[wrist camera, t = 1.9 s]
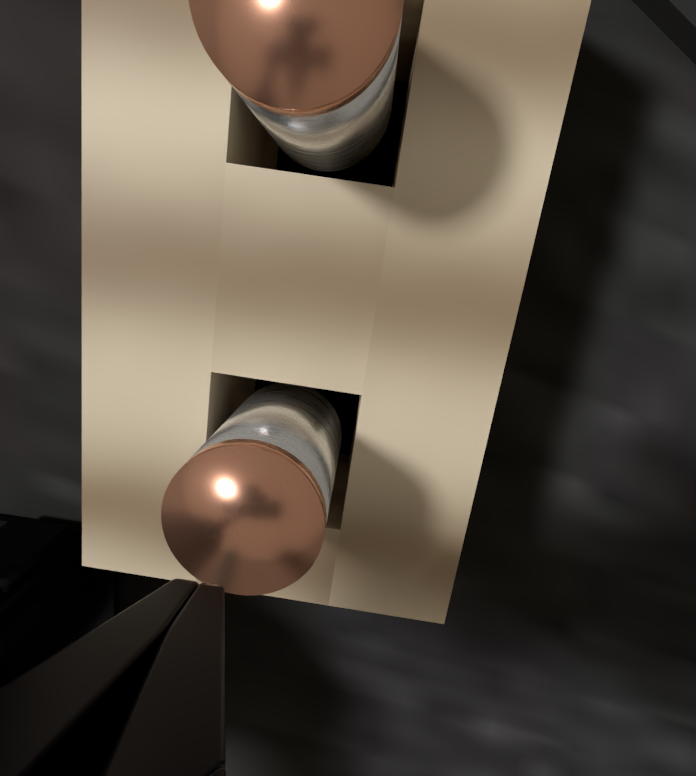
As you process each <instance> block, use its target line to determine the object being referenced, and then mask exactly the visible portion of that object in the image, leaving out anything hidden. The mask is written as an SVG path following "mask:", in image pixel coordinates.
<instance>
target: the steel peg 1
mask: <svg viewBox="0 0 696 776" xmlns="http://www.w3.org/2000/svg"><path fill="white" fill-rule="evenodd" d="M188 1H189V7H190V11H191V16H192V20H193V23H194V26H195V29H196V31H197V34H198V37H199V39H200V41H201V43H202V45H203V47H204V49H205V51H206V52H207V54H208V56H209V57H210V59H211V60H212V62H213V63H214V65H215V66H216V67H217V68H218V70H219V71H220V72H221V73H222V75H223V76H224V77H225V79H226V80H227V81H228V82H229V84H230V85H231V86H232V87H233V89H234V90H235V91H236V92H237V94H238V95H239V96H240V97H241V99H242V100H243V101H244V102H245V104H246V105H247V106H248V108H249V109H250V110H251V111H252V113H253V114H254V115H255V116H256V118H257V119H258V120H259V121H260V123H261V124H262V125H263V126H264V128H265V129H266V130H267V131H268V133H269V134H270V135H271V137H272V138H273V139H274V140H275V142H276V143H277V144H278V145H279V147H280V148H281V149H282V150H283V151H284V152H285V153H286V154H287V155H288V156H289V157H290V158H291V159H293V160H294V161H295V162H297V163H298V164H300V165H302V166H304V167H307V168H309V169H313V170H317V171H326V172H330V171H339V170H343V169H346V168H349V167H352V166H354V165H355V164H357V163H359V162H360V161H362V160H363V159H365V158H366V157H367V156H368V155H369V154H370V153H371V152H372V151H373V150H374V149H375V148H376V146H377V145H378V144H379V142H380V141H381V139H382V137H383V135H384V133H385V131H386V129H387V126H388V123H389V120H390V115H391V110H392V101H393V92H394V83H395V74H396V65H397V57H398V48H399V39H400V30H401V21H402V12H403V4H404V0H188Z"/></svg>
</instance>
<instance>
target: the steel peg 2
mask: <svg viewBox="0 0 696 776" xmlns="http://www.w3.org/2000/svg"><path fill="white" fill-rule="evenodd" d="M341 440H342V430H341V425H340V421H339V418H338V415H337V413H336V411H335V409H334V408H333V407H332V405H331V404H330V403H329V401H328V400H327V399H326V398H325V397H324V396H322V395H321V394H320V393H319V392H317V391H316V390H314V389H312V388H310V387H306V386H299V385H293V384H286V383H280V382H279V383H273V384H270V385H266V386H264V387H262V388H260V389H258V390H257V391H255V392H254V393H253V394H251V395H250V396H249V397H248V398H247V399H246V400H245V401H244V402H243V403H242V404H241V405H240V407H239V408H238V409H237V410H236V411H235V412H234V413H233V414H232V415H231V416H230V417H229V418H228V419H227V420H226V421H225V422H224V423H223V424H222V425H221V426H220V428H219V429H218V430H217V431H216V432H215V433H214V434H213V435H212V436H211V437H210V438H209V439H208V440H207V441H206V442H205V443H204V444H203V445H202V446H201V447H200V449H199V450H198V451H197V452H196V453H195V454H194V455H193V456H192V457H191V458H190V459H189V460H188V461H187V462H186V463H185V464H184V465H183V466H182V467H181V468H180V470H179V471H178V472H177V473H176V474H175V475H174V477H173V478H172V480H171V481H170V483H169V484H168V487H167V489H166V491H165V494H164V497H163V501H162V507H161V523H162V529H163V533H164V536H165V540H166V542H167V544H168V546H169V548H170V550H171V552H172V553H173V555H174V557H175V558H176V559H177V561H178V562H179V563H180V564H181V566H182V567H183V568H185V569H186V570H187V571H188V572H189V573H190V574H191V575H192V576H194V577H195V578H196V579H198V580H199V581H201V582H203V583H210V584H216V585H222V586H223V587H224V592H227V593H231V594H236V595H263V594H268V593H272V592H276V591H279V590H281V589H284V588H286V587H288V586H290V585H291V584H293V583H295V582H296V581H297V580H299V579H300V578H301V577H302V576H303V575H305V574H306V573H307V572H308V570H309V569H310V568H311V567H312V565H313V564H314V562H315V561H316V559H317V557H318V555H319V553H320V550H321V547H322V543H323V539H324V534H325V528H326V523H327V518H328V512H329V507H330V501H331V496H332V490H333V485H334V480H335V474H336V469H337V463H338V458H339V452H340V447H341Z"/></svg>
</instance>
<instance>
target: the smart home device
mask: <svg viewBox="0 0 696 776" xmlns="http://www.w3.org/2000/svg"><path fill="white" fill-rule="evenodd" d="M632 1H633V2H634V3H635V4H636V5H637V6H638V7H639V8H640V9H641V10H642V11H643V12H644V13H645V14H646V15H647V16H648V17H649V18H650V19H651V20H652V21H653V22H654V23H655V24H656V25H657V26H658V27H659V28H660V29H661V30H662V31H663V32H664V33H665V34H666V35H667V36H668V37H669V38H670V39H671V40H672V41H673V42H674V43H675V44H676V45H677V46H678V47H679V48H680V49H681V50H682V51H683V52H684V53H685V54H686V55H687V56H688V57H689V58H690V59H691V60H692V61H693V62H694V63H695V64H696V0H632Z"/></svg>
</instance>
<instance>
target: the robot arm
mask: <svg viewBox="0 0 696 776" xmlns="http://www.w3.org/2000/svg"><path fill="white" fill-rule="evenodd" d="M118 589H119V572H117V571H111V570H105V569H99V568H92V567H86V566H82V528H79V527H73V526H68V525H66V524H59V523H53V522H47V521H41V520H34V519H28V518H22V517H11V516H4V515H0V776H226V771H225V592H224V587H223V586H222V585H216V584H210V583H201V584H198V582H196V581H191V580H185V579H173V580H171V581H170V582H168V583H166V584H165V585H163V586H162V587H160V588H159V589H157V590H155V591H154V592H152V593H151V594H149V595H147V596H146V597H144V598H143V599H141V600H139V601H138V602H136V603H135V604H133V605H132V606H130V607H128V608H127V609H125V610H124V611H122V612H120V613H119V614H118Z"/></svg>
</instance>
